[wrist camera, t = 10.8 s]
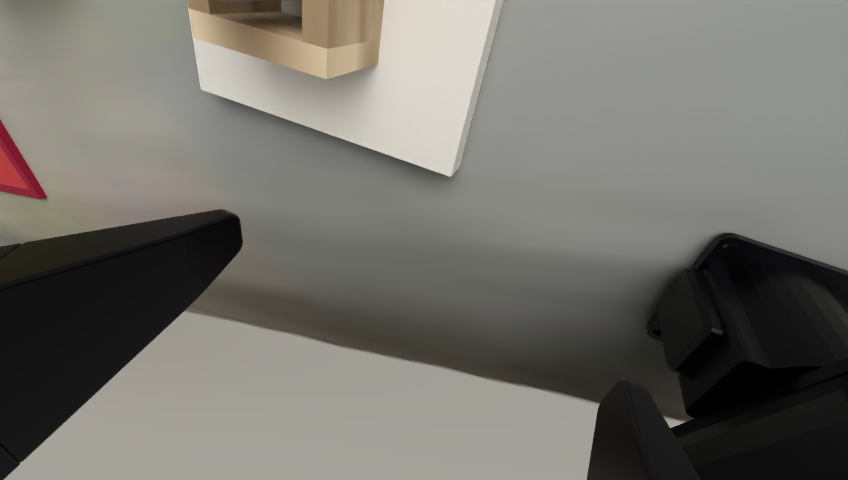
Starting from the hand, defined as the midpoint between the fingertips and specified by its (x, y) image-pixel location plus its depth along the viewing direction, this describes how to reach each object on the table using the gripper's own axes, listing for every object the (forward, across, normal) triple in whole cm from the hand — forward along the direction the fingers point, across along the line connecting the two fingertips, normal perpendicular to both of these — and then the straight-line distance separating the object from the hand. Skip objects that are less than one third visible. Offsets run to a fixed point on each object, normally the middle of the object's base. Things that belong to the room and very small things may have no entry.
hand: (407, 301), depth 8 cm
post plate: (+12, +10, -5) cm, 16 cm away
